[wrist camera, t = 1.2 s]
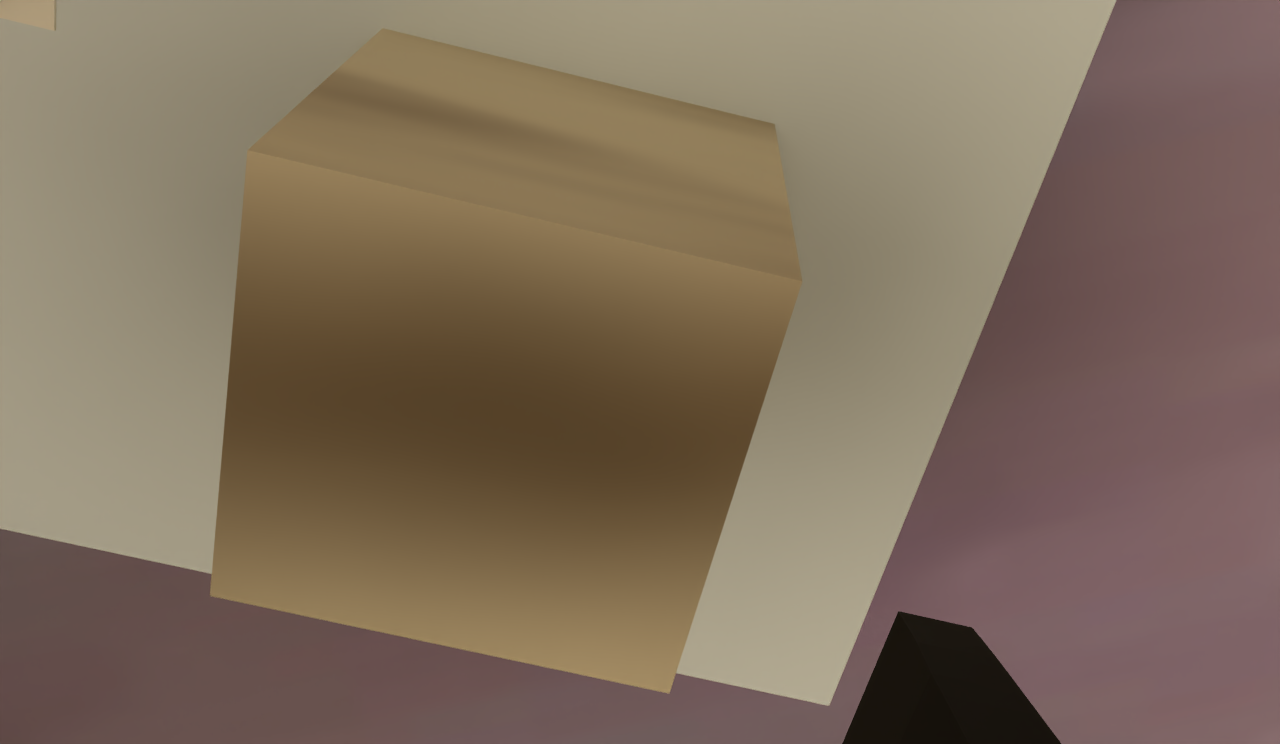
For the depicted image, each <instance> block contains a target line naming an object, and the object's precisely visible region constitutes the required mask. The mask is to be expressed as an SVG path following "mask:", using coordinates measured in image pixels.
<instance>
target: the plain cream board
mask: <svg viewBox="0 0 1280 744" xmlns="http://www.w3.org/2000/svg"><path fill="white" fill-rule="evenodd" d="M1115 2H1116V0H0V529H4V530H9V531H14V532H18V533H23V534H28V535H32V536H37V537H42V538H47V539H51V540H56V541H61V542H65V543H70V544H75V545H79V546H84V547H89V548H93V549H98V550H103V551H107V552H112V553H117V554H121V555H126V556H131V557H135V558H140V559H145V560H149V561H154V562H159V563H163V564H168V565H173V566H177V567H182V568H187V569H192V570H196V571H201V572H206V573H210V574H212V565H213V553H214V541H215V529H216V517H217V505H218V493H219V482H220V470H221V458H222V446H223V434H224V422H225V410H226V398H227V386H228V374H229V363H230V351H231V339H232V327H233V315H234V303H235V291H236V279H237V267H238V255H239V244H240V232H241V220H242V208H243V196H244V184H245V172H246V160H247V150H248V149H249V148H250V147H251V146H253V145H254V144H255V143H256V142H257V141H258V140H259V139H260V138H261V137H262V136H264V135H265V134H266V133H267V132H268V131H269V130H270V129H271V128H272V127H274V126H275V125H276V124H277V123H278V122H279V121H280V120H281V119H282V118H284V117H285V116H286V115H287V114H288V113H289V112H290V111H291V110H292V109H294V108H295V107H296V106H297V105H298V104H299V103H300V102H301V101H302V100H303V99H305V98H306V97H307V96H308V95H309V94H310V93H311V92H312V91H313V90H315V89H316V88H317V87H318V86H319V85H320V84H321V83H322V82H323V81H325V80H326V79H327V78H328V77H329V76H330V75H331V74H332V73H333V72H335V71H336V70H337V69H338V68H339V67H340V66H341V65H342V64H343V63H344V62H346V61H347V60H348V59H349V58H350V57H351V56H352V55H353V54H354V53H356V52H357V51H358V50H359V49H360V48H361V47H362V46H363V45H364V44H366V43H367V42H368V41H369V40H370V39H371V38H372V37H373V36H374V35H376V34H377V33H378V32H379V31H380V30H381V29H382V28H384V29H388V30H392V31H396V32H400V33H404V34H408V35H413V36H417V37H421V38H425V39H429V40H433V41H437V42H441V43H445V44H449V45H453V46H458V47H462V48H466V49H470V50H474V51H478V52H482V53H486V54H490V55H494V56H498V57H503V58H507V59H511V60H515V61H519V62H523V63H527V64H531V65H535V66H539V67H543V68H547V69H552V70H556V71H560V72H564V73H568V74H572V75H576V76H580V77H584V78H588V79H592V80H597V81H601V82H605V83H609V84H613V85H617V86H621V87H625V88H629V89H633V90H637V91H642V92H646V93H650V94H654V95H658V96H662V97H666V98H670V99H674V100H678V101H682V102H687V103H691V104H695V105H699V106H703V107H707V108H711V109H715V110H719V111H723V112H727V113H732V114H736V115H740V116H744V117H748V118H752V119H756V120H760V121H764V122H768V123H772V124H775V129H776V135H777V140H778V146H779V152H780V157H781V163H782V169H783V174H784V180H785V186H786V191H787V197H788V203H789V208H790V214H791V220H792V225H793V231H794V237H795V242H796V248H797V254H798V259H799V265H800V271H801V276H802V284H801V287H800V290H799V293H798V297H797V300H796V303H795V306H794V309H793V312H792V315H791V318H790V321H789V324H788V328H787V331H786V334H785V337H784V340H783V343H782V346H781V349H780V352H779V355H778V358H777V362H776V365H775V368H774V371H773V374H772V377H771V380H770V383H769V386H768V389H767V393H766V396H765V399H764V402H763V405H762V408H761V411H760V414H759V417H758V420H757V424H756V427H755V430H754V433H753V436H752V439H751V442H750V445H749V448H748V451H747V454H746V458H745V461H744V464H743V467H742V470H741V473H740V476H739V479H738V482H737V485H736V489H735V492H734V495H733V498H732V501H731V504H730V507H729V510H728V513H727V516H726V520H725V523H724V526H723V529H722V532H721V535H720V538H719V541H718V544H717V547H716V550H715V554H714V557H713V560H712V563H711V566H710V569H709V572H708V575H707V578H706V581H705V585H704V588H703V591H702V594H701V597H700V600H699V603H698V606H697V609H696V612H695V616H694V619H693V622H692V625H691V628H690V631H689V634H688V637H687V640H686V643H685V647H684V650H683V653H682V656H681V659H680V662H679V665H678V668H677V671H676V673H678V674H683V675H687V676H692V677H697V678H701V679H706V680H711V681H715V682H720V683H725V684H730V685H734V686H739V687H744V688H748V689H753V690H758V691H762V692H767V693H772V694H776V695H781V696H786V697H790V698H795V699H800V700H804V701H809V702H814V703H818V704H823V705H828V706H829V705H830V702H831V700H832V697H833V695H834V693H835V690H836V688H837V685H838V683H839V680H840V678H841V675H842V673H843V670H844V668H845V665H846V663H847V661H848V658H849V656H850V653H851V651H852V648H853V646H854V643H855V641H856V638H857V636H858V634H859V631H860V629H861V626H862V624H863V621H864V619H865V616H866V614H867V611H868V609H869V607H870V604H871V602H872V599H873V597H874V594H875V592H876V589H877V587H878V584H879V582H880V580H881V577H882V575H883V572H884V570H885V567H886V565H887V562H888V560H889V557H890V555H891V552H892V550H893V548H894V545H895V543H896V540H897V538H898V535H899V533H900V530H901V528H902V525H903V523H904V521H905V518H906V516H907V513H908V511H909V508H910V506H911V503H912V501H913V498H914V496H915V494H916V491H917V489H918V486H919V484H920V481H921V479H922V476H923V474H924V471H925V469H926V466H927V464H928V462H929V459H930V457H931V454H932V452H933V449H934V447H935V444H936V442H937V439H938V437H939V435H940V432H941V430H942V427H943V425H944V422H945V420H946V417H947V415H948V412H949V410H950V408H951V405H952V403H953V400H954V398H955V395H956V393H957V390H958V388H959V385H960V383H961V381H962V378H963V376H964V373H965V371H966V368H967V366H968V363H969V361H970V358H971V356H972V353H973V351H974V349H975V346H976V344H977V341H978V339H979V336H980V334H981V331H982V329H983V326H984V324H985V322H986V319H987V317H988V314H989V312H990V309H991V307H992V304H993V302H994V299H995V297H996V295H997V292H998V290H999V287H1000V285H1001V282H1002V280H1003V277H1004V275H1005V272H1006V270H1007V267H1008V265H1009V263H1010V260H1011V258H1012V255H1013V253H1014V250H1015V248H1016V245H1017V243H1018V240H1019V238H1020V236H1021V233H1022V231H1023V228H1024V226H1025V223H1026V221H1027V218H1028V216H1029V213H1030V211H1031V209H1032V206H1033V204H1034V201H1035V199H1036V196H1037V194H1038V191H1039V189H1040V186H1041V184H1042V182H1043V179H1044V177H1045V174H1046V172H1047V169H1048V167H1049V164H1050V162H1051V159H1052V157H1053V154H1054V152H1055V150H1056V147H1057V145H1058V142H1059V140H1060V137H1061V135H1062V132H1063V130H1064V127H1065V125H1066V123H1067V120H1068V118H1069V115H1070V113H1071V110H1072V108H1073V105H1074V103H1075V100H1076V98H1077V96H1078V93H1079V91H1080V88H1081V86H1082V83H1083V81H1084V78H1085V76H1086V73H1087V71H1088V69H1089V66H1090V64H1091V61H1092V59H1093V56H1094V54H1095V51H1096V49H1097V46H1098V44H1099V41H1100V39H1101V37H1102V34H1103V32H1104V29H1105V27H1106V24H1107V22H1108V19H1109V17H1110V14H1111V12H1112V10H1113V7H1114V5H1115Z"/></svg>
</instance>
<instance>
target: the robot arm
mask: <svg viewBox="0 0 1280 744" xmlns="http://www.w3.org/2000/svg"><path fill="white" fill-rule="evenodd" d="M843 744H1061V743H1060V741H1059V740H1058V739H1057V737H1056V736H1055V735H1054V733H1053V732H1052V731H1051V729H1050V728H1049V727H1048V725H1047V724H1046V723H1045V721H1044V720H1043V719H1042V717H1041V716H1040V715H1039V713H1038V712H1037V711H1036V709H1035V708H1034V707H1033V705H1032V704H1031V703H1030V701H1029V700H1028V699H1027V697H1026V696H1025V695H1024V693H1023V692H1022V691H1021V689H1020V688H1019V687H1018V685H1017V684H1016V683H1015V681H1014V680H1013V679H1012V677H1011V676H1010V675H1009V674H1008V672H1007V671H1006V670H1005V668H1004V667H1003V666H1002V664H1001V663H1000V662H999V660H998V659H997V658H996V657H995V655H994V654H993V653H992V651H991V650H990V649H989V648H988V646H987V645H986V644H985V643H984V641H983V640H982V639H981V638H980V637H979V635H978V634H977V633H976V632H975V631H974V629H973V628H972V627H967V626H962V625H958V624H953V623H949V622H944V621H940V620H935V619H931V618H926V617H922V616H917V615H913V614H908V613H904V612H899V611H898V614H897V616H896V618H895V621H894V623H893V625H892V628H891V630H890V633H889V635H888V637H887V640H886V642H885V644H884V647H883V649H882V651H881V654H880V656H879V659H878V661H877V663H876V666H875V668H874V670H873V673H872V675H871V677H870V680H869V682H868V685H867V687H866V689H865V692H864V694H863V696H862V699H861V701H860V703H859V706H858V708H857V711H856V713H855V715H854V718H853V720H852V722H851V725H850V727H849V729H848V732H847V734H846V737H845V739H844V741H843Z"/></svg>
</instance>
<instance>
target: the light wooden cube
mask: <svg viewBox="0 0 1280 744" xmlns="http://www.w3.org/2000/svg"><path fill="white" fill-rule="evenodd" d="M801 284H802V276H801V271H800V265H799V259H798V254H797V248H796V242H795V237H794V231H793V225H792V220H791V214H790V208H789V203H788V197H787V191H786V186H785V180H784V174H783V169H782V163H781V157H780V152H779V146H778V140H777V135H776V129H775V124H772V123H768V122H764V121H760V120H756V119H752V118H748V117H744V116H740V115H736V114H732V113H727V112H723V111H719V110H715V109H711V108H707V107H703V106H699V105H695V104H691V103H687V102H682V101H678V100H674V99H670V98H666V97H662V96H658V95H654V94H650V93H646V92H642V91H637V90H633V89H629V88H625V87H621V86H617V85H613V84H609V83H605V82H601V81H597V80H592V79H588V78H584V77H580V76H576V75H572V74H568V73H564V72H560V71H556V70H552V69H547V68H543V67H539V66H535V65H531V64H527V63H523V62H519V61H515V60H511V59H507V58H503V57H498V56H494V55H490V54H486V53H482V52H478V51H474V50H470V49H466V48H462V47H458V46H453V45H449V44H445V43H441V42H437V41H433V40H429V39H425V38H421V37H417V36H413V35H408V34H404V33H400V32H396V31H392V30H388V29H384V28H382V29H381V30H380V31H379V32H378V33H377V34H376V35H374V36H373V37H372V38H371V39H370V40H369V41H368V42H367V43H366V44H364V45H363V46H362V47H361V48H360V49H359V50H358V51H357V52H356V53H354V54H353V55H352V56H351V57H350V58H349V59H348V60H347V61H346V62H344V63H343V64H342V65H341V66H340V67H339V68H338V69H337V70H336V71H335V72H333V73H332V74H331V75H330V76H329V77H328V78H327V79H326V80H325V81H323V82H322V83H321V84H320V85H319V86H318V87H317V88H316V89H315V90H313V91H312V92H311V93H310V94H309V95H308V96H307V97H306V98H305V99H303V100H302V101H301V102H300V103H299V104H298V105H297V106H296V107H295V108H294V109H292V110H291V111H290V112H289V113H288V114H287V115H286V116H285V117H284V118H282V119H281V120H280V121H279V122H278V123H277V124H276V125H275V126H274V127H272V128H271V129H270V130H269V131H268V132H267V133H266V134H265V135H264V136H262V137H261V138H260V139H259V140H258V141H257V142H256V143H255V144H254V145H253V146H251V147H250V148H249V149H248V150H247V160H246V172H245V184H244V196H243V208H242V220H241V232H240V244H239V255H238V267H237V279H236V291H235V303H234V315H233V327H232V339H231V351H230V363H229V374H228V386H227V398H226V410H225V422H224V434H223V446H222V458H221V470H220V482H219V493H218V505H217V517H216V529H215V541H214V553H213V565H212V577H211V589H210V596H213V597H218V598H222V599H227V600H232V601H236V602H241V603H246V604H251V605H255V606H260V607H265V608H269V609H274V610H279V611H283V612H288V613H293V614H298V615H302V616H307V617H312V618H316V619H321V620H326V621H330V622H335V623H340V624H345V625H349V626H354V627H359V628H363V629H368V630H373V631H378V632H382V633H387V634H392V635H396V636H401V637H406V638H410V639H415V640H420V641H425V642H429V643H434V644H439V645H443V646H448V647H453V648H457V649H462V650H467V651H472V652H476V653H481V654H486V655H490V656H495V657H500V658H505V659H509V660H514V661H519V662H523V663H528V664H533V665H537V666H542V667H547V668H552V669H556V670H561V671H566V672H570V673H575V674H580V675H585V676H589V677H594V678H599V679H603V680H608V681H613V682H617V683H622V684H627V685H632V686H636V687H641V688H646V689H650V690H655V691H660V692H664V693H670V690H671V687H672V684H673V681H674V677H675V674H676V671H677V668H678V665H679V662H680V659H681V656H682V653H683V650H684V647H685V643H686V640H687V637H688V634H689V631H690V628H691V625H692V622H693V619H694V616H695V612H696V609H697V606H698V603H699V600H700V597H701V594H702V591H703V588H704V585H705V581H706V578H707V575H708V572H709V569H710V566H711V563H712V560H713V557H714V554H715V550H716V547H717V544H718V541H719V538H720V535H721V532H722V529H723V526H724V523H725V520H726V516H727V513H728V510H729V507H730V504H731V501H732V498H733V495H734V492H735V489H736V485H737V482H738V479H739V476H740V473H741V470H742V467H743V464H744V461H745V458H746V454H747V451H748V448H749V445H750V442H751V439H752V436H753V433H754V430H755V427H756V424H757V420H758V417H759V414H760V411H761V408H762V405H763V402H764V399H765V396H766V393H767V389H768V386H769V383H770V380H771V377H772V374H773V371H774V368H775V365H776V362H777V358H778V355H779V352H780V349H781V346H782V343H783V340H784V337H785V334H786V331H787V328H788V324H789V321H790V318H791V315H792V312H793V309H794V306H795V303H796V300H797V297H798V293H799V290H800V287H801Z"/></svg>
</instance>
